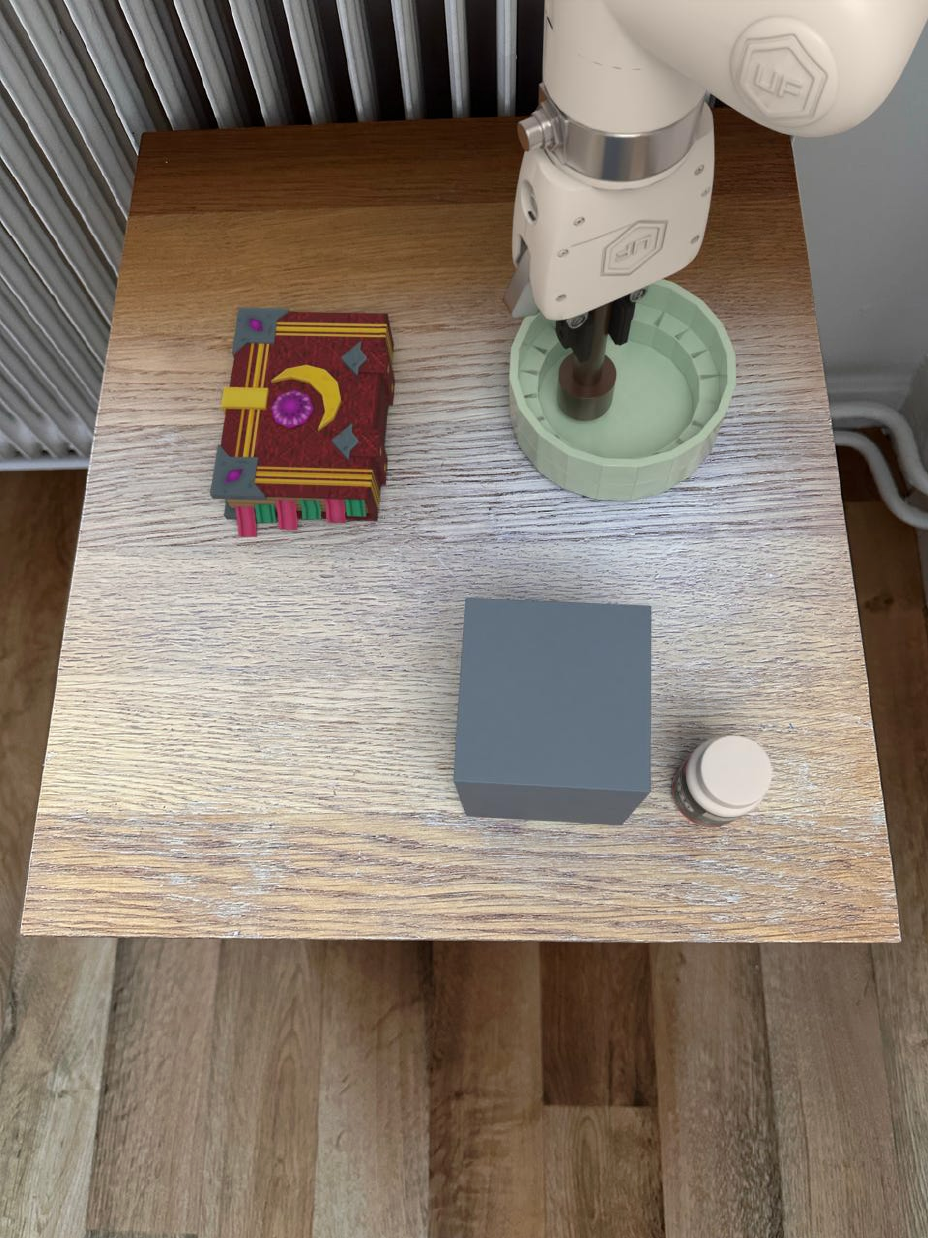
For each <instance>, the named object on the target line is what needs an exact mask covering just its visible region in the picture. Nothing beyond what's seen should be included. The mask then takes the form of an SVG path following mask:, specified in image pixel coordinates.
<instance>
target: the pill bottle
mask: <svg viewBox="0 0 928 1238" xmlns="http://www.w3.org/2000/svg"><path fill="white" fill-rule="evenodd" d="M772 779H773V767H772V762H771V759H770V757H769V755H768V754H767V752H766V751H765V749H764V748H763V747H762V746H761V745H760V744H759V743H758V742H756V741H755V740H753V739H751V738H749V737H746V736H742V735H738V734H737V735H735V734H734V735H733V734H732V735H724V736H718V737H714V738H710V739H708V740H705V741H704V742H702V743H701V744H700V745H698V746H697V747H696V748H695V749H694V750H693V751H692V752H691V753H690V754H689V755H688V756H687V757H686V759H684V760H683V761H682V763H681V764H680V765H679V766H678V768H677V769H676V771H675V773H674V776H673V779H672V783H671V794H672V799H673V802H674V804H675V806H676V808H677V809H678V811H679V812H680V814H681V815H682V816H683V817H684V818H685V819H687V820H688V821H689V822H691V823H693V824H695V825H697V826H700V827H704V828H710V829H715V828H722V827H725V826H727V825H729V824H731V823H733V822H734V821H736V820H738V819H740V818H742V817H743V816H745V815H748V814H749V813H751V812H753V811H754V810H755V809H756V808H758V806H759V805H760V804H761V803H762V801H763V800H764V798H765V796H766V794H767V792H768V790H769V789H770V787H771V784H772V781H773V780H772Z"/></svg>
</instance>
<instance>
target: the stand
mask: <svg viewBox="0 0 928 1238" xmlns="http://www.w3.org/2000/svg"><path fill="white" fill-rule="evenodd" d="M463 615H464V616H463V628H462V643H461V655H460V656H461V657H460V673H459V686H458V687H459V688H458V701H457V702H458V703H457V716H456V717H457V718H456V719H457V720H456V732H455V744H454V745H455V748H454V749H455V750H454V761H453V775H452V776H453V777H452V778H453V779H452V781H453V783H454V786H455V789H456V791H457V794H458V797H459V799H460V803H461V804H462V809H463V810H464V813H465V816H466V817H467V818H468V817H470V818H485V819H486V818H487V819H505V820H521V821H537V822H555V823H557V822H558V823H571V824H591V825H605V826H607V825H608V826H623V825H624V823H625V822H626V821H627V820H628V819H629V818H630V816H632V814H633V813H634V812H635V811H637V809H638V808H639V806H640V805H641V804H642V802H643V801H645V799H646V798H647V797H648V796H649V795H650V793H651V791H652V605H647V604H645V605H644V604H624V603H602V602H600V603H599V602H578V601H577V602H576V601H554V600H534V599H533V600H530V599H507V598H488V597H487V598H485V597H465V599H464V611H463Z"/></svg>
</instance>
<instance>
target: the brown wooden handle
mask: <svg viewBox="0 0 928 1238" xmlns="http://www.w3.org/2000/svg"><path fill="white" fill-rule="evenodd" d="M612 304H613V301H611V302H609V303H607V304H605V305H602V306H600V307H598V308H595V309H593V310H591V311H588V313H589V315H590V316H591V318H592V319H593V321H594V325H595V327H594V334H593V342H592V350H591V357H589V360H587V361H585V362H583V363H580V362H579V361H578V359H577V357H576V356H575V354H574V352H573V353H571V354H569V355H568V356H567V357H566V358H565V359H564V360H563V361H562V363H561V365H560V367H559V372H558V385H557V402H558V405H559V407H560V409H561V410H562V411H563V412H564V413H565V414H566V415H567V416H569V417H570V418H573V419H575V420H579V421H591V420H595V419H597V418H599V417H601V416H602V415H604V414H605V413H606V412H607V411H608V410H609V408H610V406H611V404H612V400H613V394H614V388H615V382H616V375H617V374H616V368H615V365H614V363H613V362H612V360H611V359H610V358H609V357H608V356H607V355H605V351H606V344H607V338H608V331H609V324H610V318H611V311H612Z"/></svg>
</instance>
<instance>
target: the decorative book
mask: <svg viewBox="0 0 928 1238" xmlns="http://www.w3.org/2000/svg"><path fill="white" fill-rule="evenodd" d="M233 336H234V337H233V343H232V347H231V348H232V349H231V355H232V357H233V360H232V368H231V375H230V381H229V386H223V391H222V396H221V404H220V408H221V409H222V412H223V413H224V419H223V420H224V421H223V426H222V433H221V440H220V444H217V447H216V452H215V460H214V466H213V471H212V478H211V482H210V489H209V496H210V497H211V499H213V500H225V506H224V513H223V516H224V518H225V519H226V520H227V521H229V520H230V521H232V520H233V521H236V522H237V535H238V537H243V538H244V537H245V538H246V537H247V538H258V535H257V534H258V533H257V523H259V524H260V523H262V524H263V523H264V524H265V523H267V524H277V522H278V524H277V525H278V530H279V531H298V520H299V519H300V520H319V521H320V520H325V521H326V522H327V523H329V524H348V522H347V521H359V522H378V519H379V508H380V498H381V488H382V487H381V486H386V483H387V474H388V473H387V472H388V463H389V461H388V460H389V458H388V456H387V452H386V448H385V447H386V446H385V444H386V434H387V433H386V432H387V423H388V422H387V421H388V414H389V413H388V412H389V406H393V405H394V397H395V385H396V380H395V374H394V370H393V360H394V359H393V357H394V348H395V347H394V346H395V343H394V337H393V333H392V327H391V323H390V318H389V314H388V313H385V312H384V313H382V312H381V313H380V312H379V313H378V312H375V313H374V312H327V311H326V312H325V311H324V312H322V311H320V312H319V311H291V310H290V308H278V307H277V308H275V307H272V308H271V307H240V306H239V307H238V308H237V313H236V321H235V328H234V335H233Z"/></svg>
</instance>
